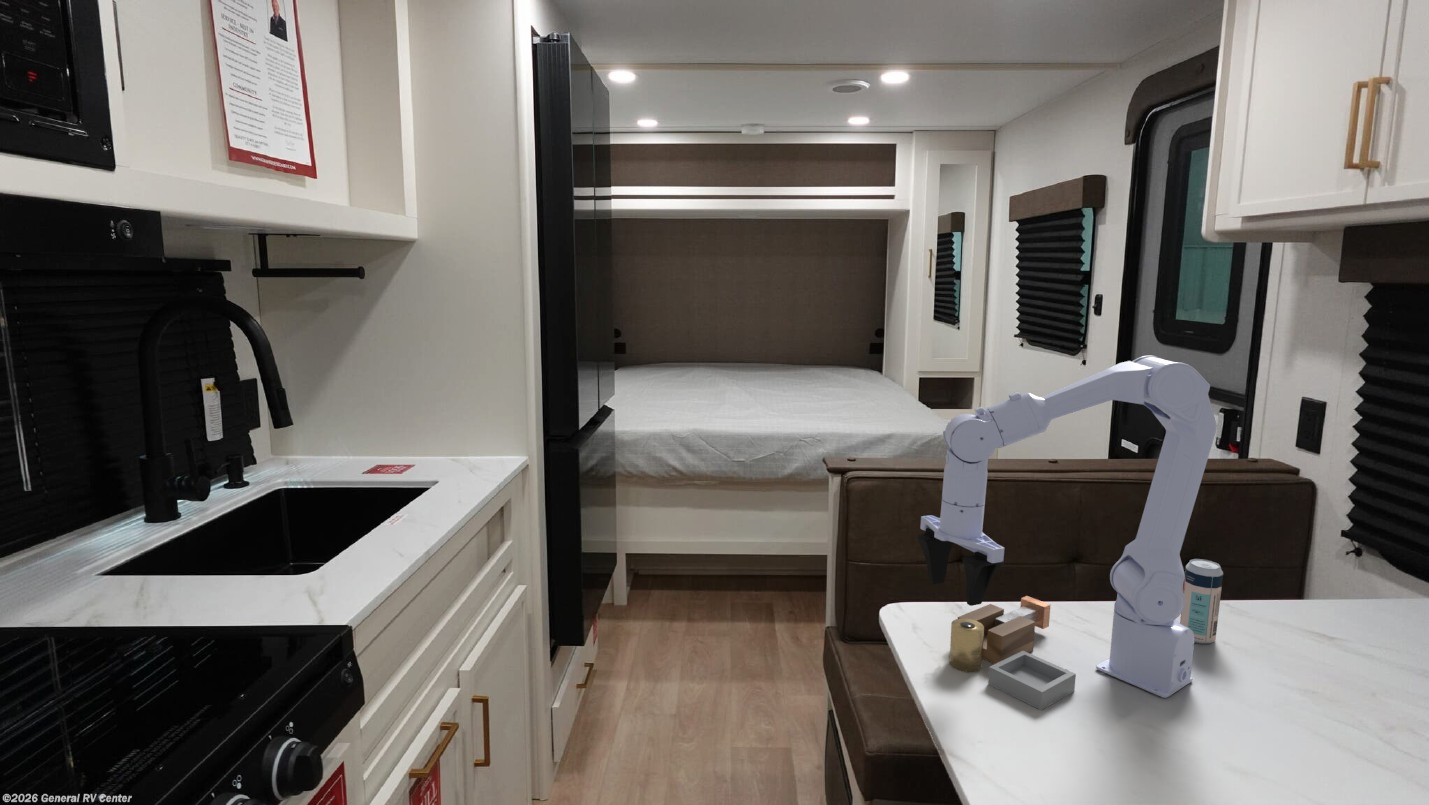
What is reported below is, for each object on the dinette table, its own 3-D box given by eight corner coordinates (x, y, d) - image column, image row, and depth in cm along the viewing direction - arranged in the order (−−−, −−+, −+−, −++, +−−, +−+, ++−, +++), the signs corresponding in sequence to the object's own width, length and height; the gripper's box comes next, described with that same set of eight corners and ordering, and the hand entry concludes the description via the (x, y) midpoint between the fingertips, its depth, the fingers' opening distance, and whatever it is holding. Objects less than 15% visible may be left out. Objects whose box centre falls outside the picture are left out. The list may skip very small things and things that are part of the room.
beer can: (1205, 631, 119) (1213, 558, 117) (1222, 646, 114) (1230, 570, 112) (1172, 630, 119) (1180, 557, 117) (1188, 645, 114) (1196, 569, 112)
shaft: (1048, 626, 118) (1050, 604, 117) (1012, 643, 112) (1013, 620, 112) (1025, 617, 121) (1027, 595, 121) (988, 633, 116) (989, 611, 115)
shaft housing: (1033, 650, 113) (1035, 621, 112) (1000, 666, 108) (1002, 636, 107) (988, 631, 119) (990, 603, 118) (956, 645, 114) (957, 617, 114)
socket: (1074, 691, 102) (1075, 673, 101) (1040, 710, 97) (1042, 692, 97) (1021, 667, 108) (1022, 650, 108) (988, 683, 104) (989, 666, 103)
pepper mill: (988, 666, 108) (990, 626, 107) (968, 675, 106) (971, 635, 105) (962, 654, 112) (964, 615, 111) (942, 662, 109) (944, 623, 108)
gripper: (906, 489, 111) (900, 577, 113) (978, 520, 98) (969, 619, 100) (944, 485, 114) (937, 571, 116) (1019, 514, 101) (1009, 610, 103)
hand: (955, 593), depth 108 cm, fingers open, 7 cm apart
